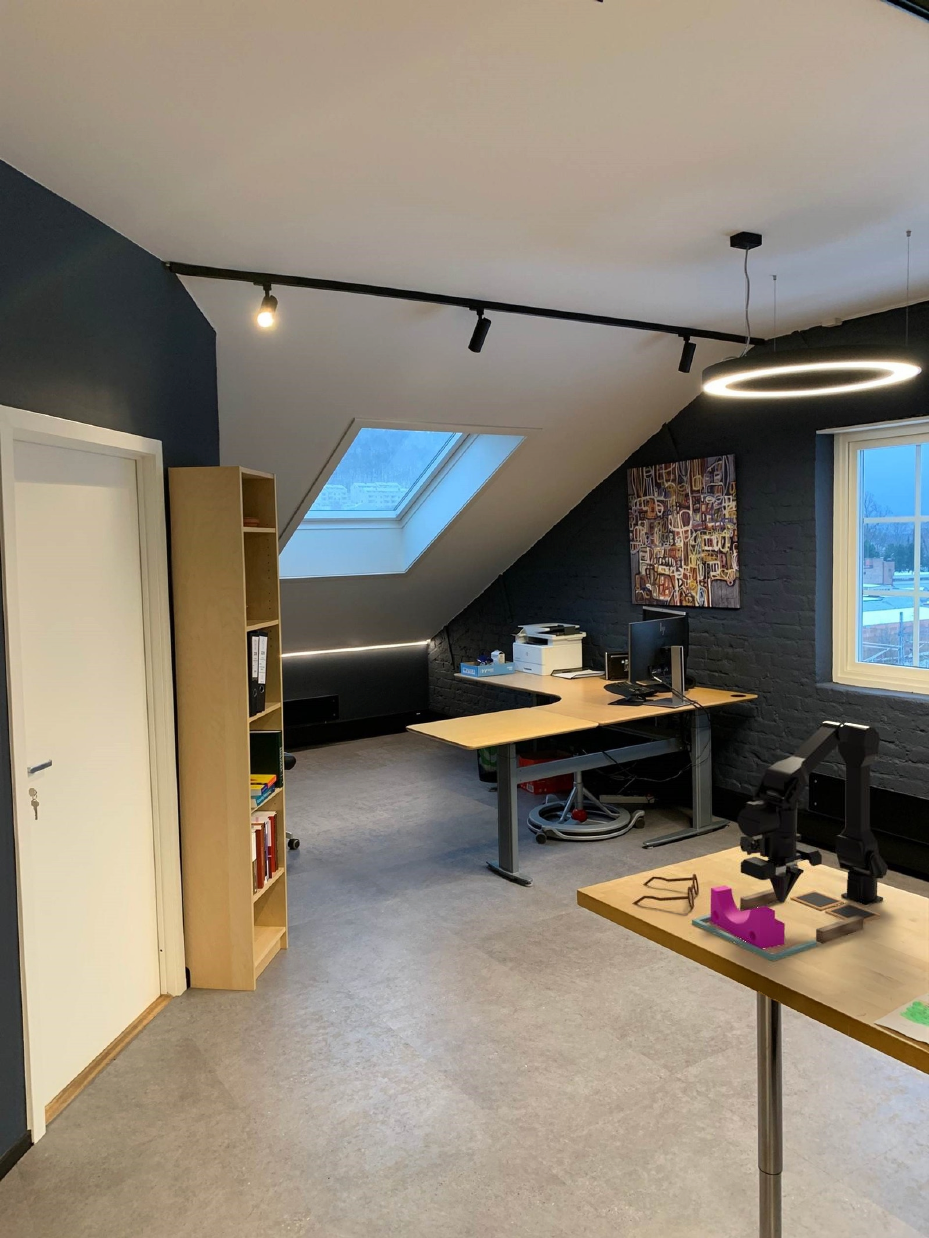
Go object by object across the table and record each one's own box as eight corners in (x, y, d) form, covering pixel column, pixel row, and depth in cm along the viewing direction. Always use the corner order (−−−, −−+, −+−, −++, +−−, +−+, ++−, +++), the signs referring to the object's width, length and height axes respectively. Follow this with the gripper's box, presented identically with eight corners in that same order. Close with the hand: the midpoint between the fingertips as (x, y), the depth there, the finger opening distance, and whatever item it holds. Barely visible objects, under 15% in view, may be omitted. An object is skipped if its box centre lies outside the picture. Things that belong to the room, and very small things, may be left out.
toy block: (784, 945, 179) (784, 908, 178) (759, 951, 176) (759, 913, 176) (734, 917, 192) (734, 883, 192) (710, 922, 190) (710, 887, 190)
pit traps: (813, 891, 206) (813, 889, 206) (881, 916, 192) (881, 914, 192) (790, 898, 202) (790, 897, 202) (857, 924, 188) (857, 923, 188)
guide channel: (780, 896, 203) (780, 886, 203) (863, 929, 185) (863, 917, 185) (740, 908, 197) (740, 897, 196) (822, 943, 179) (822, 931, 178)
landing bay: (735, 910, 196) (735, 906, 196) (817, 945, 178) (817, 941, 178) (692, 923, 189) (692, 919, 189) (772, 961, 171) (772, 957, 171)
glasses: (692, 914, 195) (692, 891, 195) (632, 905, 200) (632, 883, 200) (699, 892, 208) (699, 871, 207) (642, 885, 212) (643, 864, 212)
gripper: (780, 812, 198) (779, 881, 199) (720, 826, 188) (719, 898, 190) (824, 825, 189) (822, 897, 190) (763, 840, 179) (762, 916, 180)
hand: (780, 902), depth 187 cm, fingers closed
